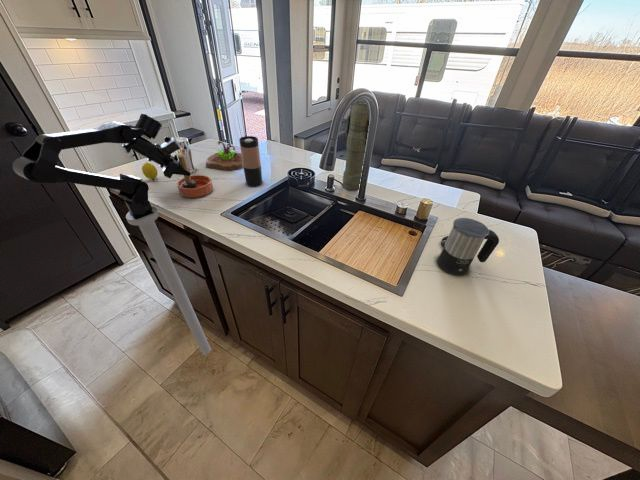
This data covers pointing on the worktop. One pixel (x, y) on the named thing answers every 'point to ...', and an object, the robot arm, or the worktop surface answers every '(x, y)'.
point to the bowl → (202, 186)
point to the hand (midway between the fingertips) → (190, 173)
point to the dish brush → (188, 182)
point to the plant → (225, 159)
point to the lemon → (149, 170)
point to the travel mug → (251, 160)
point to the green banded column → (355, 145)
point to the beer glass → (185, 152)
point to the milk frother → (466, 245)
